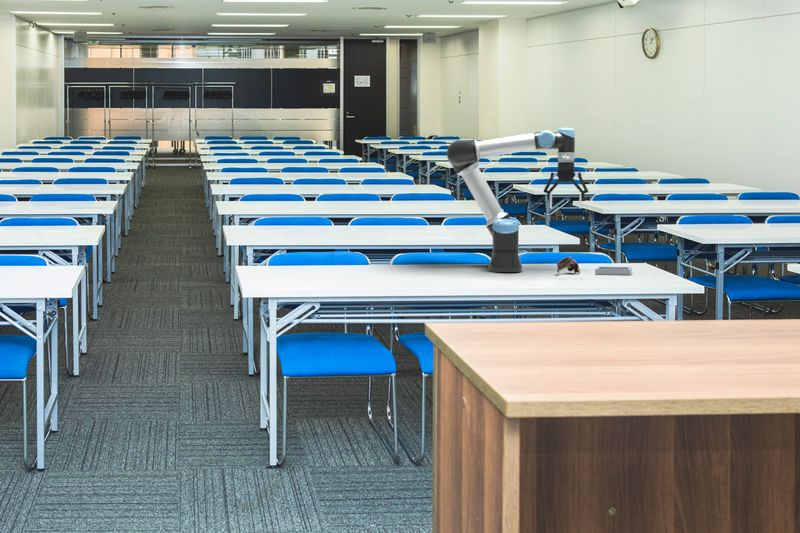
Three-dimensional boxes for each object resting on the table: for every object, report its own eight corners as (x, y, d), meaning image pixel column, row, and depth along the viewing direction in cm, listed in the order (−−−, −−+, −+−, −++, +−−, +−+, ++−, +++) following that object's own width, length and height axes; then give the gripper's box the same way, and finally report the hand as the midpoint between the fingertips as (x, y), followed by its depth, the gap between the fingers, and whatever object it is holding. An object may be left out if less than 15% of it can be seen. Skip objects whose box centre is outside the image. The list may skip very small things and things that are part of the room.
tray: (595, 274, 471) (595, 269, 471) (597, 272, 487) (597, 266, 487) (630, 275, 468) (630, 269, 467) (631, 272, 483) (631, 267, 483)
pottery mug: (581, 274, 471) (572, 258, 470) (562, 284, 474) (553, 268, 473) (582, 267, 483) (573, 251, 481) (563, 276, 485) (554, 260, 484)
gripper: (537, 161, 493) (537, 208, 495) (593, 161, 487) (592, 208, 489) (539, 162, 501) (539, 207, 502) (594, 161, 494) (593, 208, 496)
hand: (565, 208), depth 495 cm, fingers open, 13 cm apart
